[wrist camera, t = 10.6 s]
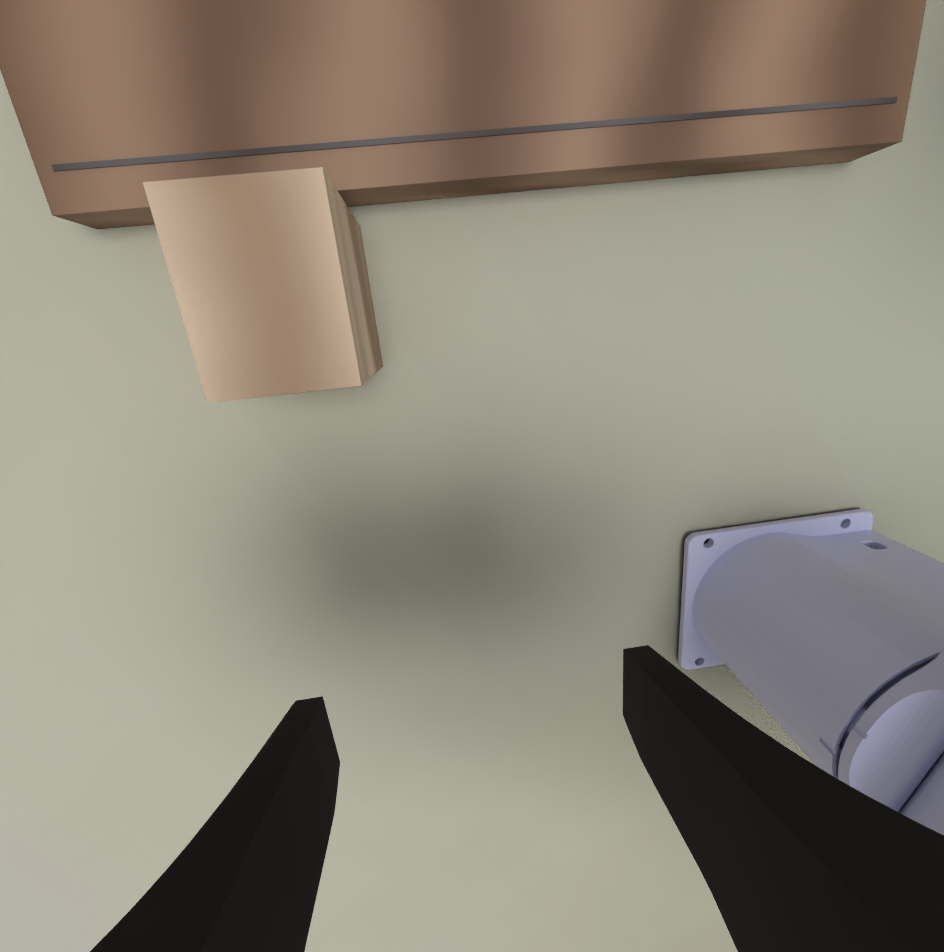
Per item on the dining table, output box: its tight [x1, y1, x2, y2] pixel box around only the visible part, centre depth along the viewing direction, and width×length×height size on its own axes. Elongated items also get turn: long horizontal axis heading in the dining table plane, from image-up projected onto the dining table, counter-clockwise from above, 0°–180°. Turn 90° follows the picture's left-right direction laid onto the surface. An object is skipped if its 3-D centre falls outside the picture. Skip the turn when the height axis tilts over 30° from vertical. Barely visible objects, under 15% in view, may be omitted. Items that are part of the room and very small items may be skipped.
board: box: [0, 0, 926, 229], centre depth 14 cm, size 28×7×2 cm, turn 96°
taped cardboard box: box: [143, 167, 383, 403], centre depth 14 cm, size 4×5×6 cm
